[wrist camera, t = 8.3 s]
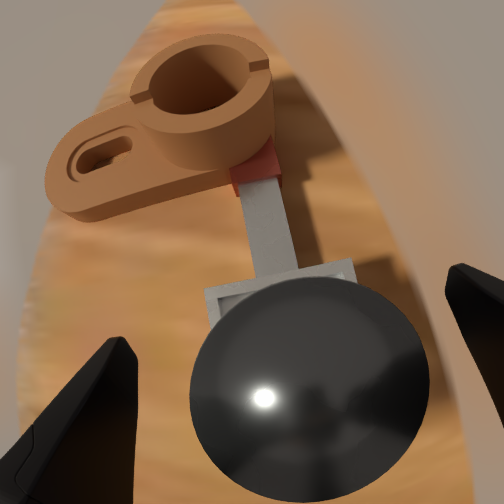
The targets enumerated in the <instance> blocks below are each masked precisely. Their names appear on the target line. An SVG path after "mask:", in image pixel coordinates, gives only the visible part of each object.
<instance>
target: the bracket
mask: <svg viewBox="0 0 504 504" xmlns="http://www.w3.org/2000/svg"><path fill="white" fill-rule="evenodd" d="M130 98H131V99H132V101H129V102H126V103H124V104H121V105H119V106H116V107H114V108H111V109H109V110H106V111H104V112H101V113H99V114H97V115H94V116H92V117H90V118H88V119H86V120H84V121H82V122H80V123H79V124H77V125H76V126H75V127H73V128H72V129H71V130H70V131H69V132H68V133H67V134H66V135H65V136H64V137H63V138H62V140H61V141H60V142H59V144H58V145H57V146H56V148H55V150H54V151H53V153H52V155H51V157H50V160H49V162H48V165H47V169H46V173H45V190H46V194H47V197H48V199H49V201H50V202H51V204H52V205H53V206H54V207H55V208H57V209H58V210H60V211H62V212H64V213H65V214H67V215H69V216H70V217H72V218H74V219H76V220H78V221H81V222H97V221H101V220H104V219H107V218H110V217H113V216H117V215H120V214H123V213H126V212H130V211H133V210H136V209H140V208H143V207H146V206H150V205H153V204H157V203H160V202H164V201H167V200H171V199H174V198H178V197H182V196H185V195H189V194H193V193H196V192H200V191H204V190H208V189H212V188H216V187H220V186H224V185H228V184H231V183H232V181H231V176H230V171H229V168H231V167H234V166H236V165H239V164H241V163H242V162H244V161H246V160H248V159H249V158H250V157H252V156H253V155H254V154H256V153H257V152H258V151H259V150H260V149H261V148H262V147H263V145H264V144H265V143H266V141H267V140H268V138H269V137H270V134H271V137H272V140H273V144H274V143H275V135H276V131H275V113H274V97H273V81H272V74H271V71H270V69H269V58H268V56H267V54H266V53H265V52H264V50H263V49H262V48H261V47H259V46H258V45H257V44H255V43H254V42H252V41H250V40H248V39H245V38H242V37H239V36H235V35H229V34H207V35H200V36H195V37H191V38H188V39H185V40H182V41H179V42H177V43H175V44H173V45H171V46H169V47H167V48H165V49H164V50H162V51H161V52H159V53H158V54H156V55H155V56H154V57H152V58H151V59H150V60H149V61H148V62H147V63H146V64H145V65H144V66H143V67H142V69H141V70H140V71H139V73H138V74H137V76H136V77H135V79H134V81H133V84H132V87H131V90H130ZM220 105H221V106H220ZM214 106H219V107H216V108H214V109H211V110H208V111H205V112H201V111H202V110H205V109H207V108H210V107H214ZM199 112H201V113H199ZM130 150H131V151H130ZM127 151H130V153H129V154H128V155H127V156H126V157H125V158H124V159H122V160H121V161H118V162H115V163H112V164H110V165H107V166H104V167H102V168H99V169H96V170H94V171H91V169H92V168H93V166H94V165H95V164H97V163H98V162H100V161H102V160H105V159H108V158H110V157H113V156H116V155H118V154H121V153H124V152H127ZM90 171H91V172H90Z"/></svg>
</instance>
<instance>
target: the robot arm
mask: <svg viewBox="0 0 504 504" xmlns="http://www.w3.org/2000/svg"><path fill="white" fill-rule="evenodd" d="M445 296H446V299H447V300H448V303H449V305H450V308H451V310H452V312H453V315H454V317H455V319H456V322H457V324H458V326H459V329H460V331H461V334H462V336H463V338H464V340H465V342H466V344H467V347H468V348H469V351H470V353H471V355H472V357H473V359H474V361H475V363H476V365H477V367H478V369H479V370H480V373H481V375H482V377H483V380H484V382H485V384H486V386H487V388H488V390H489V393H490V395H491V398H492V400H493V402H494V405H495V407H496V409H497V412H498V414H499V417H500V419H501V422H502V425H503V427H504V281H502V280H500V279H498V278H496V277H494V276H491V275H489V274H487V273H484V272H482V271H480V270H478V269H476V268H473V267H471V266H469V265H466V264H464V263H460V264H457V265H453V266H451V267H450V269H449V271H448V276H447V281H446V286H445ZM137 419H138V359H137V356H136V354H135V353H134V351H133V350H132V348H131V347H130V345H129V344H128V342H127V341H126V339H125V338H124V337H121V336H119V337H111V338H109V339H108V340H107V341H106V342H105V343H104V344H103V345H102V346H101V347H100V348H99V349H98V350H97V351H96V353H95V354H94V355H93V356H92V357H91V358H90V359H89V360H88V361H87V362H86V363H85V365H84V366H83V367H82V368H81V369H80V370H79V371H78V372H77V373H76V374H75V376H74V377H73V378H72V379H71V380H70V381H69V382H68V383H67V384H66V386H65V387H64V388H63V389H62V390H61V391H60V392H59V393H58V395H57V396H56V397H55V398H54V399H53V400H52V401H51V403H50V404H49V405H48V406H47V407H46V408H45V409H44V411H43V412H42V413H41V414H40V415H39V416H38V418H37V419H36V420H35V421H34V422H33V424H32V425H31V426H30V427H29V428H28V429H27V431H26V432H25V433H24V434H23V435H22V436H21V438H20V439H19V440H18V441H17V442H16V443H15V445H14V446H13V447H12V448H11V449H10V450H9V451H8V452H7V453H6V454H5V455H4V456H3V457H2V458H1V459H0V504H133V486H134V462H135V445H136V431H137Z"/></svg>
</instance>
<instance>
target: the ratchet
mask: <svg viewBox="0 0 504 504" xmlns="http://www.w3.org/2000/svg"><path fill="white" fill-rule="evenodd" d="M229 171H230V176H231V181H232V185H233V188H234V191H235V194H236V196H237V197H239V196H240V199H241V204H242V209H243V214H244V219H245V224H246V229H247V235H248V240H249V245H250V250H251V255H252V260H253V265H254V270H255V275H256V278H254V279H249V280H244V281H239V282H234V283H229V284H224V285H219V286H214V287H209V288H204V293H205V299H206V305H207V311H208V316H209V322H210V328H211V330H212V329H213V327H214V326H215V325H216V323H217V322H218V321H219V320H220V319H221V318H222V317H223V316H224V315H225V314H226V313H227V312H228V311H229V310H230V309H231V308H232V307H233V306H235V305H236V304H237V303H238V302H240V301H241V300H242V299H244V298H246V297H247V296H249V295H251V294H252V293H254V292H256V291H258V290H260V289H262V288H264V287H267V286H269V285H271V284H274V283H278V282H281V281H284V280H288V279H294V278H300V277H313V276H322V277H334V278H339V279H344V280H348V281H352V282H355V283H357V279H356V275H355V271H354V267H353V263H352V259H351V258H347V259H342V260H338V261H333V262H329V263H324V264H320V265H315V266H311V267H306V268H301V269H299V268H298V264H297V260H296V255H295V251H294V246H293V242H292V238H291V234H290V229H289V225H288V221H287V217H286V213H285V209H284V205H283V200H282V196H281V192H280V188H282V173H281V170H280V166H279V162H278V159H277V155H276V151H275V148H274V144H273V140H272V137H271V134H270V137H269V138H268V140H267V141H266V143H265V144H264V145H263V147H262V148H261V149H260V150H259V151H258V152H257V153H256V154H254V155H253V156H252V157H250V158H249V159H248V160H246V161H244V162H242V163H241V164H239V165H236V166H234V167H231V168H229Z"/></svg>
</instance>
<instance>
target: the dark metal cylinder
mask: <svg viewBox="0 0 504 504" xmlns="http://www.w3.org/2000/svg"><path fill="white" fill-rule="evenodd" d="M429 384H430V379H429V367H428V362H427V358H426V354H425V350H424V348H423V345H422V343H421V340H420V338H419V336H418V334H417V332H416V331H415V329H414V327H413V326H412V324H411V323H410V322H409V320H408V319H407V318H406V316H405V315H404V314H403V313H402V312H401V311H400V310H399V309H398V308H397V307H396V306H395V305H394V304H393V303H391V302H390V301H389V300H387V299H386V298H384V297H383V296H382V295H380V294H379V293H377V292H375V291H373V290H371V289H369V288H367V287H366V286H363V285H360V284H358V283H355V282H352V281H348V280H344V279H339V278H334V277H322V276H313V277H300V278H294V279H288V280H284V281H281V282H278V283H274V284H271V285H269V286H267V287H264V288H262V289H260V290H258V291H256V292H254V293H252V294H251V295H249V296H247V297H246V298H244V299H242V300H241V301H240V302H238V303H237V304H236V305H235V306H233V307H232V308H231V309H230V310H229V311H228V312H227V313H226V314H225V315H224V316H223V317H222V318H221V319H220V320H219V321H218V322H217V323H216V325H215V326H214V327H213V329H212V330H211V331H210V333H209V334H208V336H207V337H206V339H205V341H204V343H203V344H202V346H201V348H200V351H199V353H198V356H197V358H196V361H195V364H194V368H193V372H192V376H191V383H190V394H189V396H190V411H191V416H192V422H193V425H194V428H195V431H196V434H197V437H198V439H199V441H200V443H201V445H202V447H203V449H204V450H205V452H206V453H207V455H208V456H209V458H210V459H211V460H212V462H213V463H214V464H215V465H216V466H217V467H218V468H219V469H220V470H221V471H222V472H223V473H224V474H225V475H226V476H228V477H229V478H230V479H231V480H233V481H234V482H235V483H237V484H239V485H240V486H242V487H244V488H245V489H247V490H249V491H252V492H254V493H256V494H258V495H261V496H264V497H267V498H271V499H274V500H280V501H286V502H299V503H307V502H320V501H325V500H330V499H335V498H338V497H341V496H345V495H348V494H350V493H352V492H355V491H357V490H359V489H361V488H363V487H365V486H367V485H368V484H370V483H372V482H373V481H375V480H376V479H378V478H379V477H380V476H382V475H383V474H384V473H386V472H387V471H388V470H389V469H390V468H391V467H392V466H393V465H394V464H395V463H396V462H397V461H398V460H399V459H400V458H401V457H402V455H403V454H404V453H405V452H406V451H407V449H408V448H409V446H410V445H411V443H412V441H413V440H414V438H415V437H416V435H417V432H418V430H419V428H420V426H421V424H422V421H423V418H424V415H425V412H426V408H427V403H428V397H429Z"/></svg>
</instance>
